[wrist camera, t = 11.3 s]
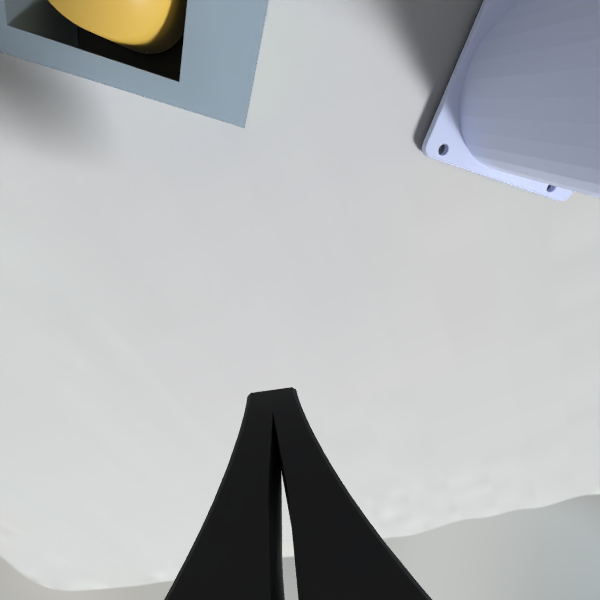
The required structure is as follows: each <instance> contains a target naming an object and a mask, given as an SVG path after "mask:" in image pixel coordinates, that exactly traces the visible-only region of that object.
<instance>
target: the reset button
mask: <svg viewBox="0 0 600 600" xmlns="http://www.w3.org/2000/svg"><path fill="white" fill-rule="evenodd" d="M48 1H49V2H50V3H51V4H52V5H53V6H54V7H55V8H56V9H57V10H58V11H59V12H60V13H61V14H62V15H63V16H65V17H66V18H67V19H69V20H70V21H72V22H73V23H74V24H76V25H78V26H80V27H82V28H83V29H85V30H88V31H90V32H92V33H94V34H97V35H99V36H101V37H103V38H106V39H108V40H110V41H112V42H115V43H117V44H119V45H121V46H124V47H126V48H128V49H131V50H133V51H135V52H139V53H144V54H156V53H161V52H163V51H166V50H168V49H170V48H171V47H172V46H174V45H175V44H176V43H177V42H178V41H179V39H180V38H181V37H182V35H183V33H184V29H185V19H186V9H187V0H48Z"/></svg>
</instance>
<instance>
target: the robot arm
mask: <svg viewBox="0 0 600 600" xmlns="http://www.w3.org/2000/svg"><path fill="white" fill-rule="evenodd" d="M443 144H444V146H445V149H444V151H443V153H441V154H439V152H438V150H439V147H440V146H441V145H443ZM422 152H423V154H424V155H425V156H427V157H430V158H433V159H436V160H439V161H442V162H445V163H448V164H451V165H454V166H457V167H460V168H463V169H465V170H468V171H471V172H474V173H477V174H480V175H483V176H486V177H489V178H492V179H495V180H498V181H501V182H504V183H507V184H510V185H513V186H516V187H519V188H522V189H525V190H528V191H531V192H534V193H537V194H540V195H542V196H545V197H548V198H551V199H554V200H557V201H564V200H566V199H567V198H569V197H570V195H571V194H572V193H573V191H574V192H578V193H582V194H585V195H589V196H593V197H596V198H600V0H484V1H483V3H482V5H481V8H480V10H479V13H478V15H477V17H476V20H475V22H474V24H473V27H472V29H471V31H470V34H469V36H468V38H467V41H466V43H465V45H464V48H463V50H462V52H461V55H460V57H459V59H458V62H457V64H456V67H455V69H454V71H453V74H452V76H451V78H450V81H449V83H448V85H447V88H446V90H445V92H444V95H443V97H442V99H441V102H440V104H439V106H438V109H437V111H436V114H435V116H434V118H433V121H432V123H431V125H430V128H429V130H428V132H427V135H426V137H425V139H424V142H423V145H422ZM548 185H550V187H549V189H548V190H547V187H548ZM281 471H282V476H283V482H284V487H285V493H286V498H287V504H288V509H289V515H290V521H291V526H292V535H293V545H294V556H295V566H296V577H297V588H298V598H299V600H432V599H431V598H430V597H429V596H428V594H427V593H426V592H425V591H424V590H423V589H422V587H421V586H420V585H419V584H418V583H417V581H416V580H415V579H414V578H413V576H412V575H411V574H410V573H409V572H408V570H407V569H406V568H405V567H404V565H403V564H402V563H401V562H400V561H399V559H398V558H397V557H396V556H395V554H394V553H393V552H392V551H391V549H390V548H389V547H388V546H387V545H386V543H385V542H384V541H383V539H382V538H381V537H380V535H379V534H378V533H377V531H376V530H375V529H374V527H373V526H372V525H371V523H370V522H369V521H368V519H367V518H366V517H365V515H364V514H363V512H362V511H361V509H360V508H359V507H358V505H357V504H356V502H355V501H354V500H353V498H352V497H351V495H350V494H349V492H348V491H347V489H346V488H345V486H344V485H343V483H342V481H341V480H340V478H339V477H338V475H337V473H336V472H335V470H334V469H333V467H332V465H331V464H330V462H329V460H328V459H327V457H326V455H325V453H324V452H323V450H322V448H321V446H320V444H319V442H318V441H317V439H316V437H315V435H314V433H313V431H312V429H311V427H310V425H309V423H308V421H307V419H306V416H305V414H304V412H303V409H302V407H301V404H300V402H299V399H298V396H297V392H296V389H294V388H292V387H291V388H284V389H277V390H269V391H262V392H255V393H251V394H250V395H249V396H248V397H247V404H246V408H245V413H244V417H243V421H242V424H241V428H240V431H239V434H238V438H237V441H236V444H235V447H234V449H233V452H232V455H231V458H230V461H229V464H228V467H227V469H226V472H225V474H224V477H223V479H222V482H221V484H220V486H219V489H218V491H217V494H216V496H215V499H214V501H213V503H212V506H211V508H210V510H209V512H208V515H207V517H206V519H205V521H204V523H203V526H202V528H201V530H200V532H199V534H198V536H197V538H196V540H195V542H194V544H193V546H192V548H191V550H190V552H189V554H188V556H187V558H186V560H185V562H184V564H183V566H182V568H181V569H180V571H179V573H178V575H177V577H176V579H175V581H174V583H173V585H172V587H171V588H170V590H169V592H168V594H167V596H166V598H165V600H285V598H284V585H283V569H282V487H281Z"/></svg>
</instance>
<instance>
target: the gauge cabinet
mask: <svg viewBox="0 0 600 600" xmlns="http://www.w3.org/2000/svg"><path fill="white" fill-rule="evenodd" d="M268 1H269V0H187V9H186V19H185V29H184V39H183V49H182V60H181V70H180V80H179V81H177V80H174V79H171V78H168V77H165V76H162V75H158V74H155V73H152V72H149V71H146V70H143V69H140V68H137V67H134V66H131V65H128V64H125V63H122V62H119V61H116V60H113V59H110V58H107V57H104V56H101V55H98V54H95V53H92V52H89V51H86V50H83V49H80V48H78V25H76V24H74V23H73V22H72V21H70V20H69V19H67V18H66V17H65V16H63V15H62V14H61V13H60V12H59V11H58V10H57V9H56V8H55V7H54V6H53V5H52V4H51V3H50V2H49V1H48V0H0V52H2V53H5V54H9V55H12V56H15V57H18V58H21V59H25V60H28V61H31V62H34V63H37V64H41V65H44V66H47V67H50V68H53V69H57V70H60V71H63V72H66V73H69V74H73V75H76V76H79V77H82V78H85V79H89V80H92V81H95V82H98V83H101V84H105V85H108V86H111V87H114V88H118V89H121V90H124V91H127V92H130V93H134V94H137V95H140V96H143V97H146V98H150V99H153V100H156V101H159V102H162V103H166V104H169V105H172V106H175V107H178V108H182V109H185V110H188V111H191V112H194V113H198V114H201V115H204V116H207V117H210V118H214V119H217V120H220V121H223V122H226V123H230V124H233V125H236V126H239V127H242V128H245V123H246V117H247V112H248V107H249V101H250V96H251V91H252V86H253V80H254V75H255V70H256V64H257V59H258V54H259V48H260V43H261V38H262V32H263V27H264V22H265V16H266V11H267V6H268Z"/></svg>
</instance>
